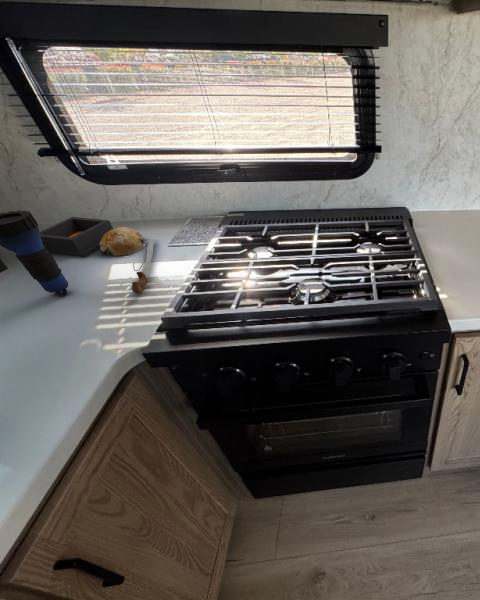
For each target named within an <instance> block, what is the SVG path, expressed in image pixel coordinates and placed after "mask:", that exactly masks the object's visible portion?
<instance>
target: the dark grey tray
mask: <svg viewBox="0 0 480 600" xmlns="http://www.w3.org/2000/svg"><path fill="white" fill-rule="evenodd" d="M112 229H114V226H113V225H112V223H111V221H110V220H108V219H100V218H99V219H98V218H89V217H80V216H79V217H78V216H71V217H69V218H67V219H64V220H62V221H60V222H58V223H56V224H54V225H52V226H49V227H47V228H45V229H43V230H41V231H40V236H41V240H42V244H43V245H44V247H46V248H47V249H48V251H49V252H50V254H51V255H52V254H53V255H61V256H71V257H80V258H87V257H88V256H90V255H92V254H94V253H95V252H97V251H99V250H101V247H100V244H99V243H100V242H101V240H102V237H103V236H104V235H105V234H106V233H107V232H109V231H110V230H112Z"/></svg>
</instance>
